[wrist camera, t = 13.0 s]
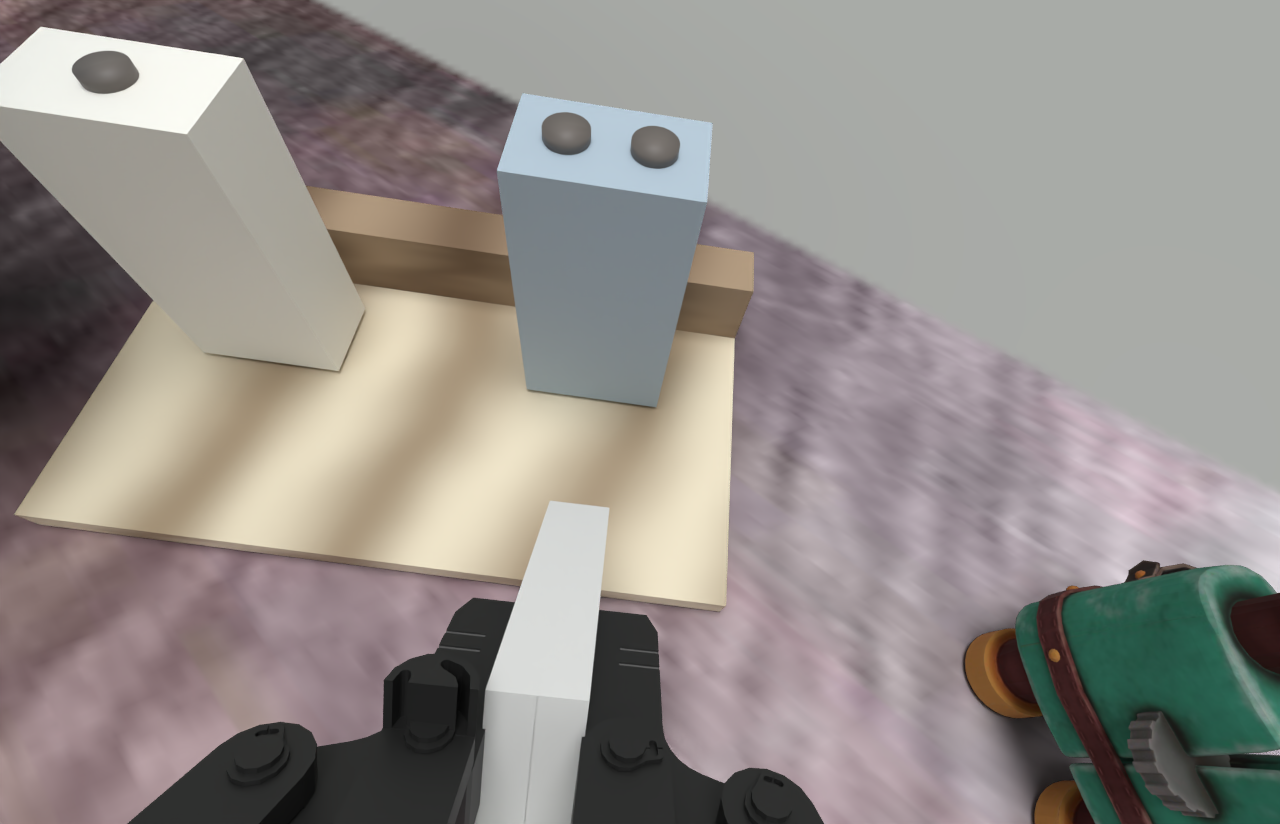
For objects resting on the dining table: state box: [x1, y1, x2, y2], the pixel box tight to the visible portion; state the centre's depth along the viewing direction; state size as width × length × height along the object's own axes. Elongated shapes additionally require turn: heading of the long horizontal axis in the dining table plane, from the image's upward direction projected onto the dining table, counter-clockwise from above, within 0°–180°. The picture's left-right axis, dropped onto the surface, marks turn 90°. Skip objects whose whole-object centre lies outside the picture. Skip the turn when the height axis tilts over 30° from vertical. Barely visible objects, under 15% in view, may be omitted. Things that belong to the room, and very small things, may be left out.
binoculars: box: [965, 560, 1280, 824], centre depth 16 cm, size 9×11×10 cm
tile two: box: [497, 94, 712, 407], centre depth 19 cm, size 5×3×10 cm, turn 84°
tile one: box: [0, 27, 365, 371], centre depth 18 cm, size 5×3×10 cm, turn 84°
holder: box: [14, 186, 754, 612], centre depth 22 cm, size 23×13×4 cm, turn 84°
